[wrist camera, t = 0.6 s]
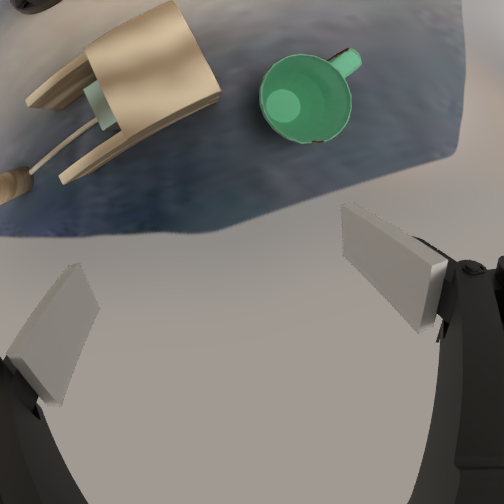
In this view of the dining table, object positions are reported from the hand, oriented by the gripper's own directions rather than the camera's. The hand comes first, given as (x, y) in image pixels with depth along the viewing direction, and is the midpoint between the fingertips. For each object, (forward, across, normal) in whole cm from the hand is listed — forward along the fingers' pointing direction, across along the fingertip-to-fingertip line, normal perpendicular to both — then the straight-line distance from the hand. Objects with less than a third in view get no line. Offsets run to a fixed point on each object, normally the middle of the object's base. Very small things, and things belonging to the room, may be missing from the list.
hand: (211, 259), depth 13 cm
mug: (+26, +14, +9) cm, 30 cm away
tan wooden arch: (+26, -8, +12) cm, 30 cm away
